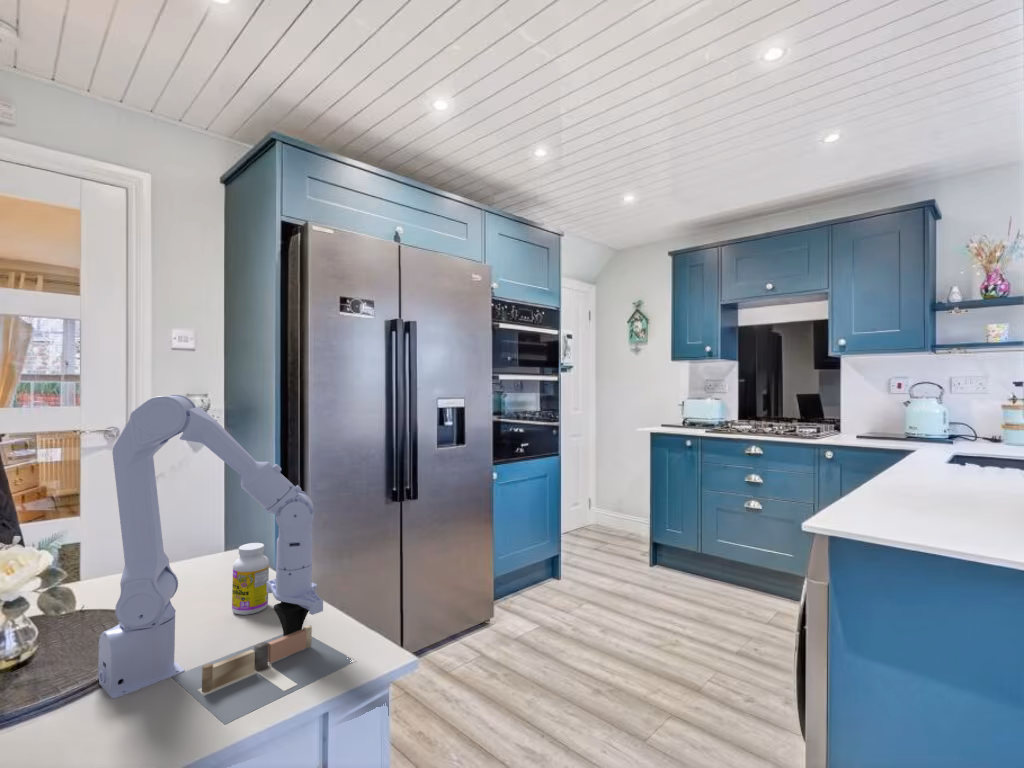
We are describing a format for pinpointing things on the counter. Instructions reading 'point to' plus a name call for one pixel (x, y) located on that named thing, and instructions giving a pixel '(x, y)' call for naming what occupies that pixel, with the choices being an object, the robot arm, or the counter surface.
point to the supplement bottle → (250, 580)
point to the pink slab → (289, 644)
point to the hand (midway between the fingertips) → (292, 643)
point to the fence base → (234, 667)
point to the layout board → (263, 680)
